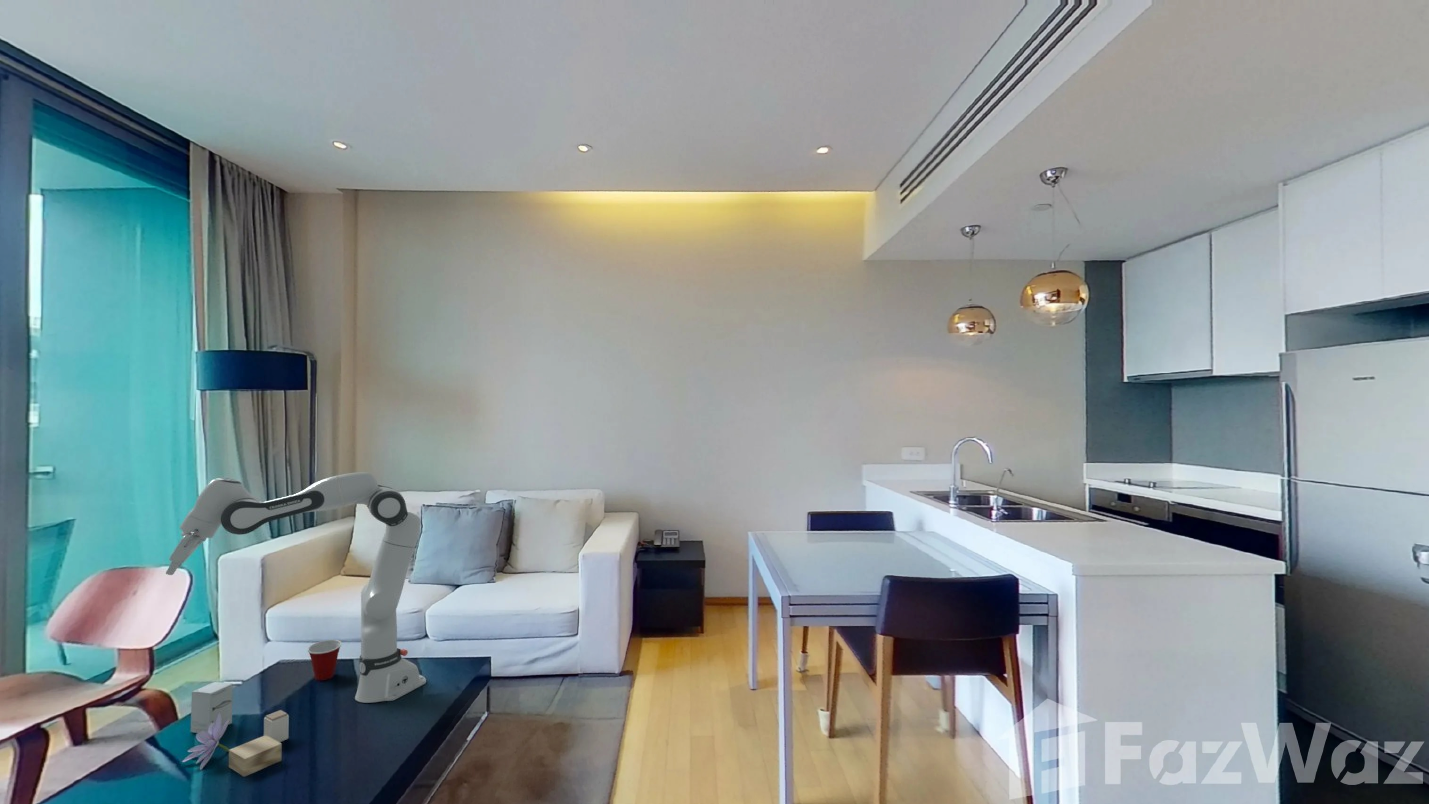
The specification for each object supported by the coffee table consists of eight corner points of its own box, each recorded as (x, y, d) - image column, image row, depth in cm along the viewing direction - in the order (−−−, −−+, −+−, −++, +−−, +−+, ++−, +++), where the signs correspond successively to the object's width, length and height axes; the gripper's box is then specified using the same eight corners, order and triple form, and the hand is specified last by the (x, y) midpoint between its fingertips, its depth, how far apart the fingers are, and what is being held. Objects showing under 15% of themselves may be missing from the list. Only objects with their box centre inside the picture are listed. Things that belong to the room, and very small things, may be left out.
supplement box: (209, 735, 185) (210, 693, 185) (189, 732, 187) (190, 691, 187) (233, 723, 193) (233, 682, 193) (214, 720, 194) (214, 680, 194)
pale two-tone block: (280, 734, 186) (281, 709, 186) (288, 738, 184) (288, 713, 184) (263, 741, 182) (264, 715, 182) (271, 745, 180) (271, 719, 180)
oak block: (265, 752, 177) (265, 734, 177) (281, 761, 172) (281, 743, 172) (228, 767, 169) (229, 749, 169) (244, 777, 164) (244, 758, 164)
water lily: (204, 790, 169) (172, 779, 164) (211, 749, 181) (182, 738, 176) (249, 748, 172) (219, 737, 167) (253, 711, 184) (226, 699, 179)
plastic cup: (303, 685, 219) (303, 652, 219) (311, 673, 229) (311, 641, 229) (338, 681, 222) (338, 648, 223) (344, 669, 233) (344, 638, 233)
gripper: (205, 536, 180) (177, 581, 176) (215, 526, 197) (190, 567, 193) (180, 529, 177) (151, 575, 173) (193, 519, 194) (167, 560, 190)
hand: (172, 570), depth 183 cm, fingers open, 8 cm apart
